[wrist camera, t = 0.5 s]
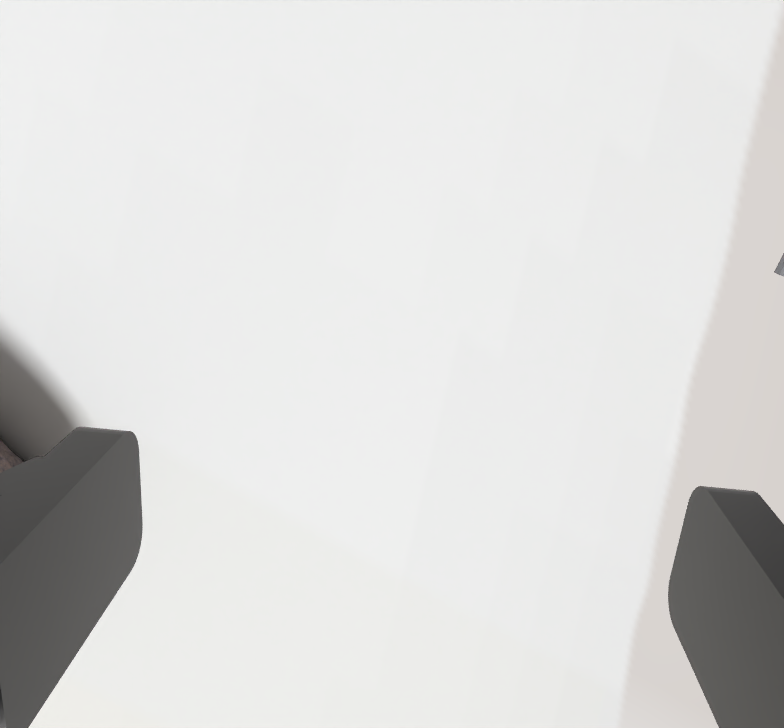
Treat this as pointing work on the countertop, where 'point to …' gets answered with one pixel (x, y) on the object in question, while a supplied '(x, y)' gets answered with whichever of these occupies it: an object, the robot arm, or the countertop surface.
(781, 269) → the mat
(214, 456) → the countertop surface
